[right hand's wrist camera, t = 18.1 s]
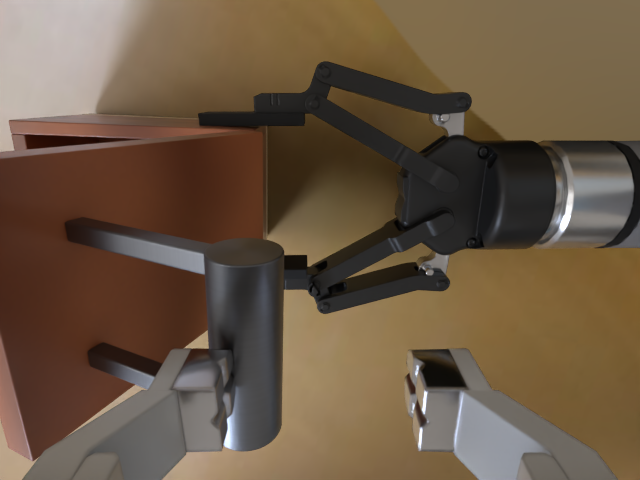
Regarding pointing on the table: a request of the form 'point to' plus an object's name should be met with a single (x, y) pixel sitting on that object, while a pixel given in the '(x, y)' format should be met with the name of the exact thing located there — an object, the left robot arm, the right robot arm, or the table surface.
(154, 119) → the chest
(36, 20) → the table surface
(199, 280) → the lid
